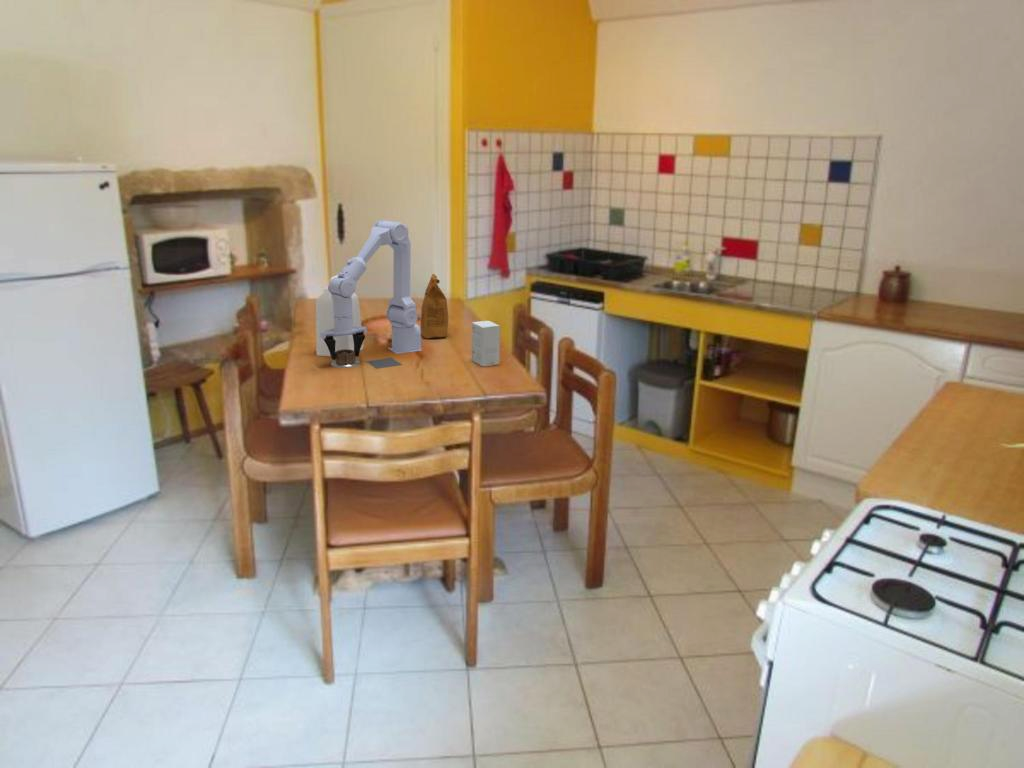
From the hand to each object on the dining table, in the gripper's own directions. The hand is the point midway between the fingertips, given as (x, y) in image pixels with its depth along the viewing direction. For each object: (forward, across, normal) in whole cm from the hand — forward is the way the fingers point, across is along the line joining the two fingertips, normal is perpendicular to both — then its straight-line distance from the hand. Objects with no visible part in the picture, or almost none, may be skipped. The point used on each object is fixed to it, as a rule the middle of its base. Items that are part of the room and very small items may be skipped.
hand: (345, 357), depth 237 cm
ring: (+2, 0, 0) cm, 2 cm away
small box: (+3, -41, +18) cm, 45 cm away
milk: (+3, -4, -14) cm, 15 cm away
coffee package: (+3, -42, -21) cm, 47 cm away
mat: (+3, -11, +5) cm, 12 cm away
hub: (+3, 0, 0) cm, 3 cm away
